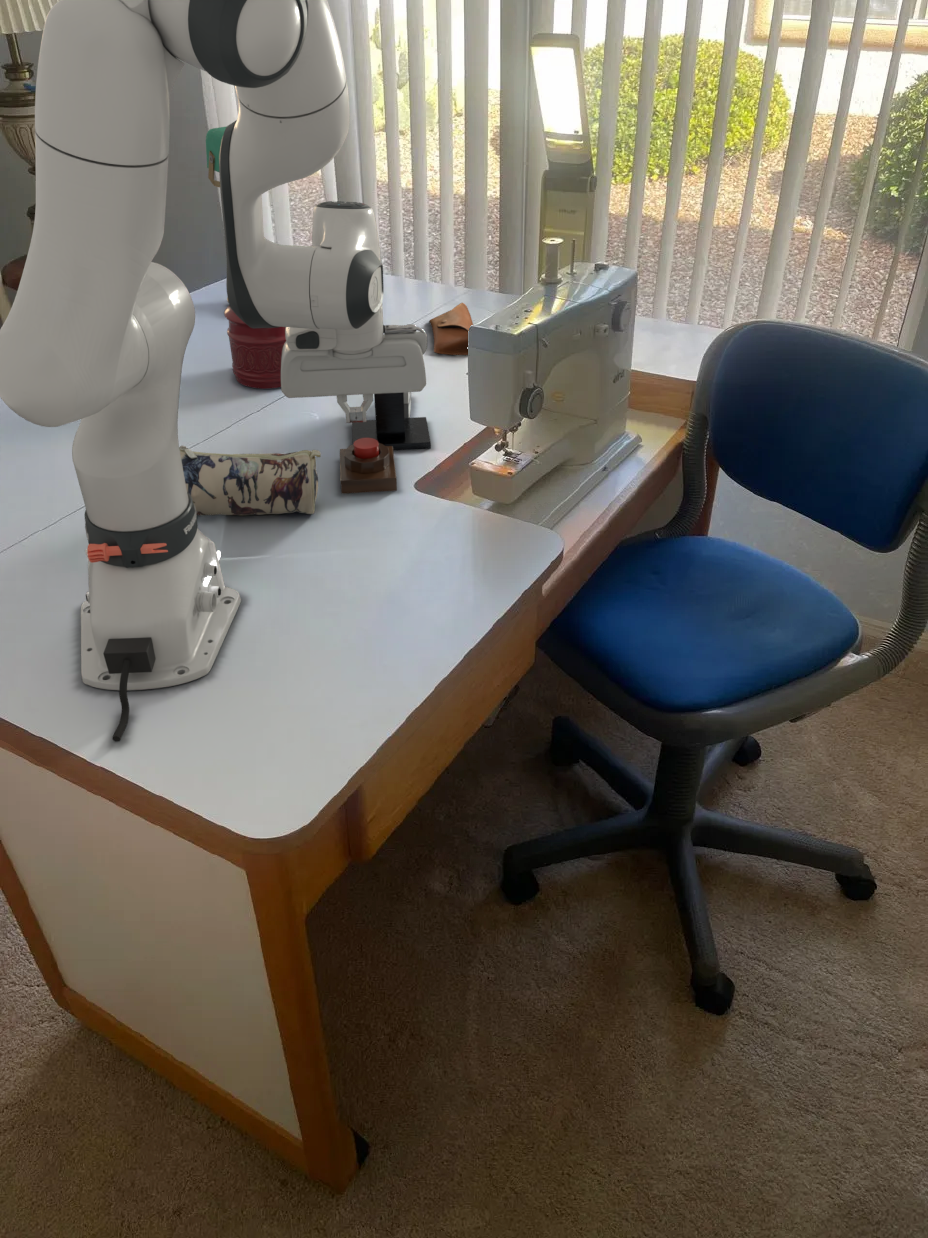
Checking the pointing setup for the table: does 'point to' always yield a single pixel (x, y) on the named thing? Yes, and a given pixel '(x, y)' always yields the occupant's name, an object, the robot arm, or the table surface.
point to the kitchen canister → (255, 352)
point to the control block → (367, 471)
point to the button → (366, 448)
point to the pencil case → (251, 482)
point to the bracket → (393, 425)
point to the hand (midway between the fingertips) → (356, 420)
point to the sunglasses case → (452, 331)
